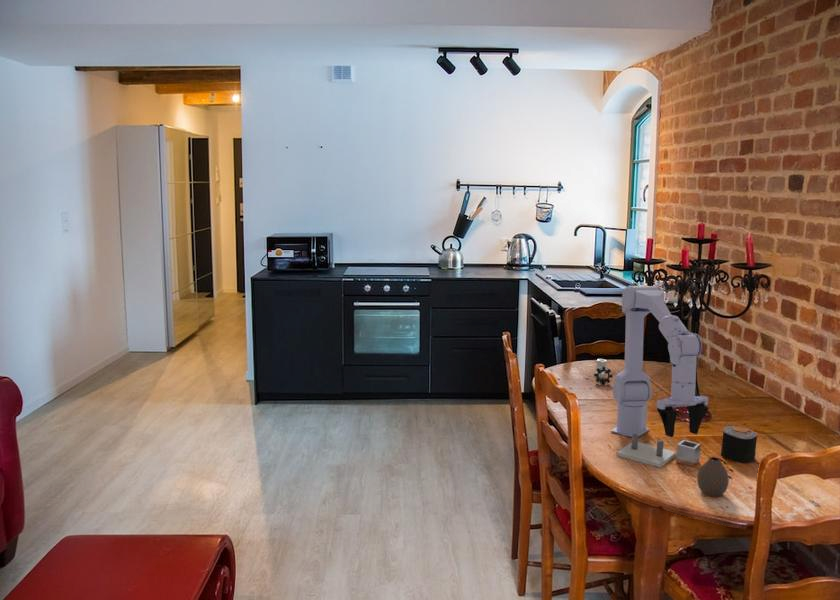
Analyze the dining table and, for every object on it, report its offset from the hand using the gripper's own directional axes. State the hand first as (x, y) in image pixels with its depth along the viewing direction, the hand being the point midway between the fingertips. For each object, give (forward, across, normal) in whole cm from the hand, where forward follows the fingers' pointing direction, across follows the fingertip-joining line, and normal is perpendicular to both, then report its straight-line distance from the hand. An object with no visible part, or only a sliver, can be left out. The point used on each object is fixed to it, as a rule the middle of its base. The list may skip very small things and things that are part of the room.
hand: (681, 434), depth 183 cm
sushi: (+10, +22, +4) cm, 25 cm away
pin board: (+9, -1, +12) cm, 15 cm away
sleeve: (+9, +7, +5) cm, 13 cm away
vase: (+11, -1, -12) cm, 16 cm away
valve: (+3, +30, +77) cm, 83 cm away
